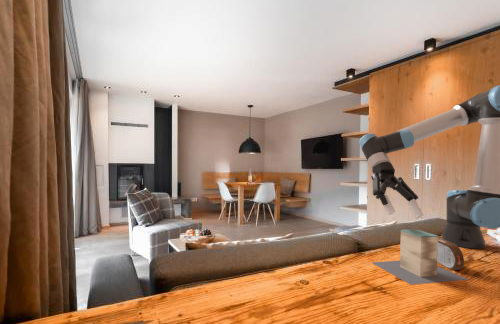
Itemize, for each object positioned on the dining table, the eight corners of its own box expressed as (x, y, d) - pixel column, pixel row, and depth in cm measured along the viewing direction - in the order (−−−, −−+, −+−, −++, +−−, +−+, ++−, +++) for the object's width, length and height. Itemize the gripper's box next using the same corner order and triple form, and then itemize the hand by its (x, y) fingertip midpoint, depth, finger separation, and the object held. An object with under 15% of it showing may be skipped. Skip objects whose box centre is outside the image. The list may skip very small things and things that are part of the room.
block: (415, 265, 90) (416, 229, 90) (437, 275, 82) (437, 235, 82) (400, 266, 89) (400, 229, 89) (420, 276, 81) (421, 236, 81)
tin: (465, 274, 85) (465, 247, 85) (454, 274, 85) (455, 246, 85) (433, 257, 100) (433, 234, 100) (424, 257, 100) (425, 234, 100)
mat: (421, 260, 96) (421, 259, 96) (469, 280, 80) (469, 279, 80) (371, 263, 92) (371, 262, 92) (410, 286, 75) (410, 284, 75)
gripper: (397, 176, 115) (422, 222, 102) (350, 167, 106) (371, 216, 93) (411, 165, 110) (439, 213, 96) (363, 155, 101) (387, 206, 87)
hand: (406, 215), depth 95 cm, fingers open, 13 cm apart
